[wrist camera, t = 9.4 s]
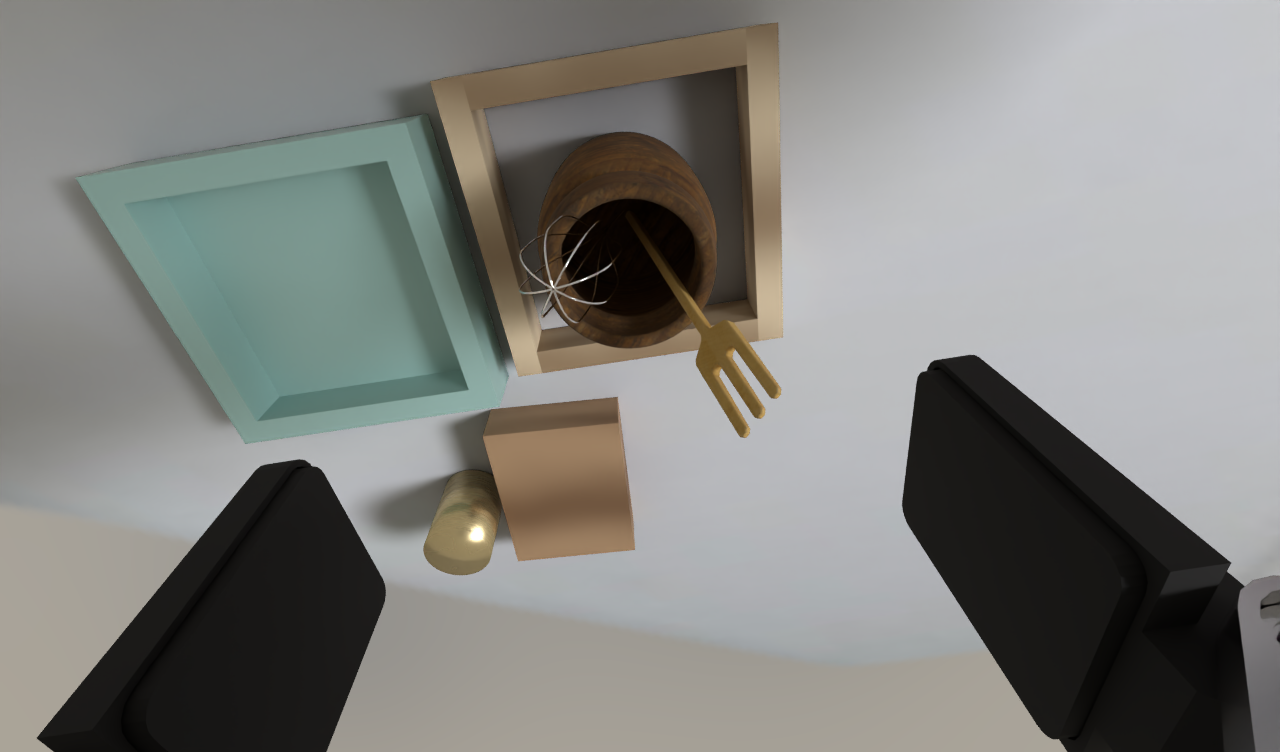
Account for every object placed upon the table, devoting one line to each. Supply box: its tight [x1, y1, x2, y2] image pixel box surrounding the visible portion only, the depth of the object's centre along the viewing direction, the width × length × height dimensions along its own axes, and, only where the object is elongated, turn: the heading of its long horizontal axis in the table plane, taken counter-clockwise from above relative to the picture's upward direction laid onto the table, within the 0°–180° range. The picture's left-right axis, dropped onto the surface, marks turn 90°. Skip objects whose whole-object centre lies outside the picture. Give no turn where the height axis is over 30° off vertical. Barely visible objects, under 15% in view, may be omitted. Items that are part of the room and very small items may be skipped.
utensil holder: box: [519, 132, 781, 438], centre depth 17 cm, size 6×6×12 cm
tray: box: [76, 114, 509, 444], centre depth 22 cm, size 11×11×2 cm
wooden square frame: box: [430, 23, 783, 376], centre depth 21 cm, size 11×11×2 cm
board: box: [483, 397, 635, 561], centre depth 28 cm, size 8×6×2 cm
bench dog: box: [423, 470, 502, 575], centre depth 27 cm, size 3×3×4 cm
